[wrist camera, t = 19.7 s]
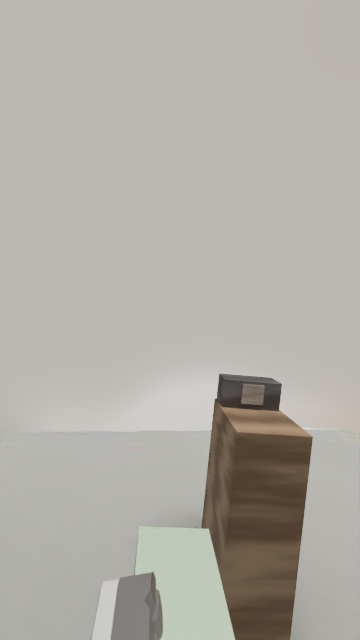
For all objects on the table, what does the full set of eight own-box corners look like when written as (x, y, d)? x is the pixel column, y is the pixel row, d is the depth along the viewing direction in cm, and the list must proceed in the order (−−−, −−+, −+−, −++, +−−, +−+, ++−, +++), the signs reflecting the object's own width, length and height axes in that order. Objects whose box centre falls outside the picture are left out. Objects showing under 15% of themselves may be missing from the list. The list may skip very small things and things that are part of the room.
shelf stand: (289, 645, 33) (316, 403, 32) (214, 645, 32) (240, 397, 31) (253, 555, 44) (272, 378, 44) (198, 554, 44) (217, 373, 43)
